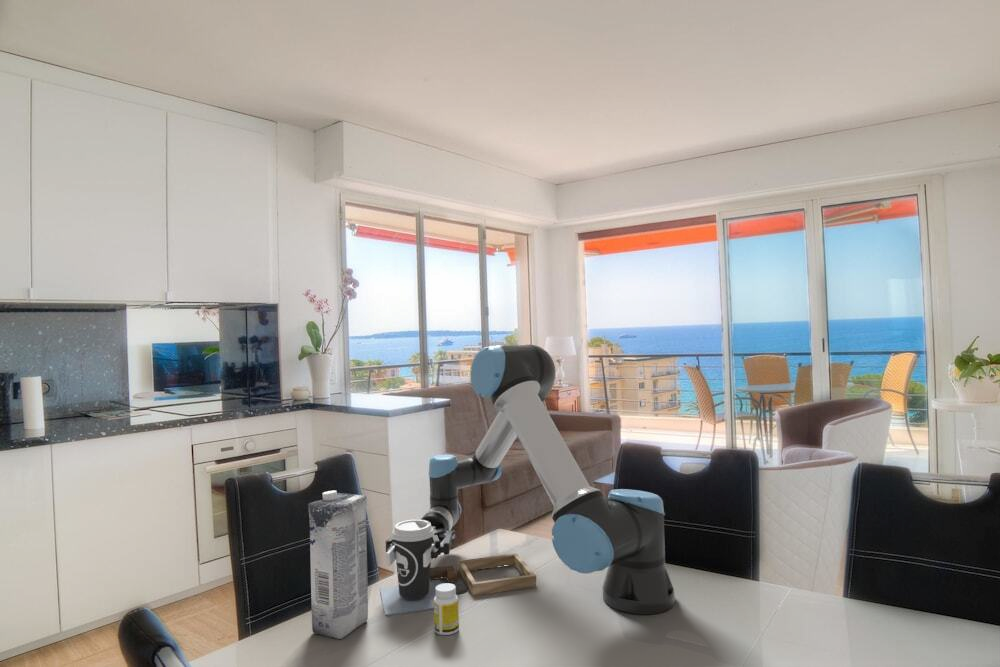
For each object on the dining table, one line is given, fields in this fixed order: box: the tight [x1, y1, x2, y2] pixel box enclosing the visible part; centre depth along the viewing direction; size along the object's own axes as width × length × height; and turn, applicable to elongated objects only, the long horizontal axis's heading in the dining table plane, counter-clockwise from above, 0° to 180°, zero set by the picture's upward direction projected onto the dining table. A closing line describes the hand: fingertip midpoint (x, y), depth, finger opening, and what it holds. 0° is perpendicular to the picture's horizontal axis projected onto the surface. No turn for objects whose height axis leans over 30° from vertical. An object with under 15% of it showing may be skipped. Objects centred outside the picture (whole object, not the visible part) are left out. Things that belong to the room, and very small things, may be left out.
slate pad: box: [379, 579, 443, 617], centre depth 133 cm, size 14×14×1 cm
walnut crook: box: [430, 564, 458, 583], centre depth 143 cm, size 5×8×2 cm, turn 105°
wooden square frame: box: [458, 553, 537, 597], centre depth 142 cm, size 15×15×2 cm
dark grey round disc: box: [454, 583, 469, 595], centre depth 137 cm, size 5×5×1 cm
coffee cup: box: [390, 519, 435, 599], centre depth 133 cm, size 10×10×15 cm
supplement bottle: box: [433, 582, 460, 636], centre depth 118 cm, size 5×5×8 cm
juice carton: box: [307, 490, 369, 640], centre depth 120 cm, size 9×10×27 cm
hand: (406, 560), depth 128 cm, fingers closed on coffee cup, 7 cm apart
